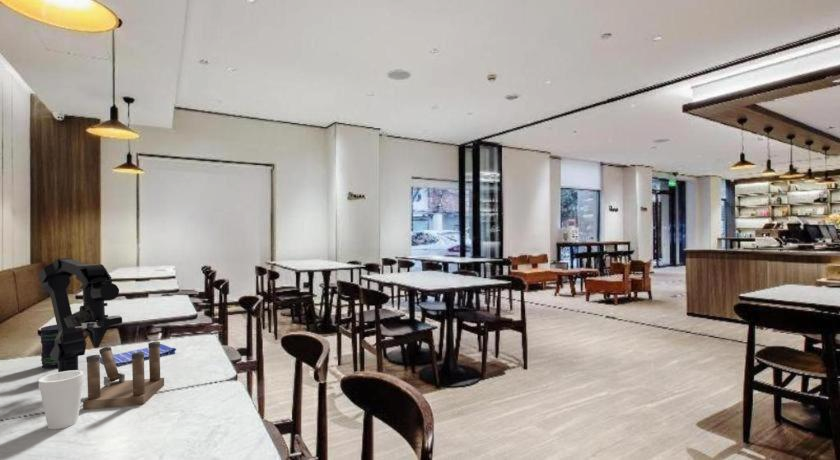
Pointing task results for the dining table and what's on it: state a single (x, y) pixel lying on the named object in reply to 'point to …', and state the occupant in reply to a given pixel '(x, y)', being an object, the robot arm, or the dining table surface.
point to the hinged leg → (109, 363)
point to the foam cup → (61, 397)
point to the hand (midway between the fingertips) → (96, 347)
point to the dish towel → (127, 356)
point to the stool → (124, 382)
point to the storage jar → (48, 346)
